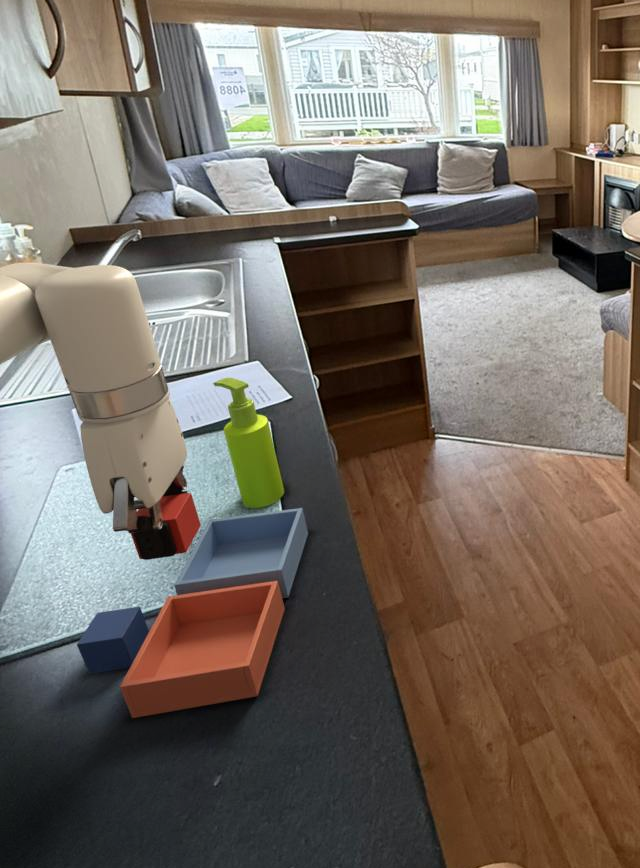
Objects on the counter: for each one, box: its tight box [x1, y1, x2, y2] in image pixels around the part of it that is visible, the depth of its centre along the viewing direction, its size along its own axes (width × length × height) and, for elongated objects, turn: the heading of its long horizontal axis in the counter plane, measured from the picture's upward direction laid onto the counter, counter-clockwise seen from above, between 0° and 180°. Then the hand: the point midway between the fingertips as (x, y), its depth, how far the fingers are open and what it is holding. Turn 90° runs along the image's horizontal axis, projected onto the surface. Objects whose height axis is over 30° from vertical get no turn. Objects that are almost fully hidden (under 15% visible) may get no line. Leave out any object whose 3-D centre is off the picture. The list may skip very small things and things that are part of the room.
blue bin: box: [174, 507, 309, 599], centre depth 86 cm, size 12×12×5 cm
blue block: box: [76, 606, 150, 675], centre depth 74 cm, size 4×4×4 cm
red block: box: [130, 492, 201, 560], centre depth 70 cm, size 4×4×4 cm
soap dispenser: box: [212, 377, 285, 509], centre depth 98 cm, size 6×7×20 cm
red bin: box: [119, 581, 286, 719], centre depth 73 cm, size 12×12×5 cm
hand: (169, 537), depth 71 cm, fingers closed on red block, 4 cm apart
